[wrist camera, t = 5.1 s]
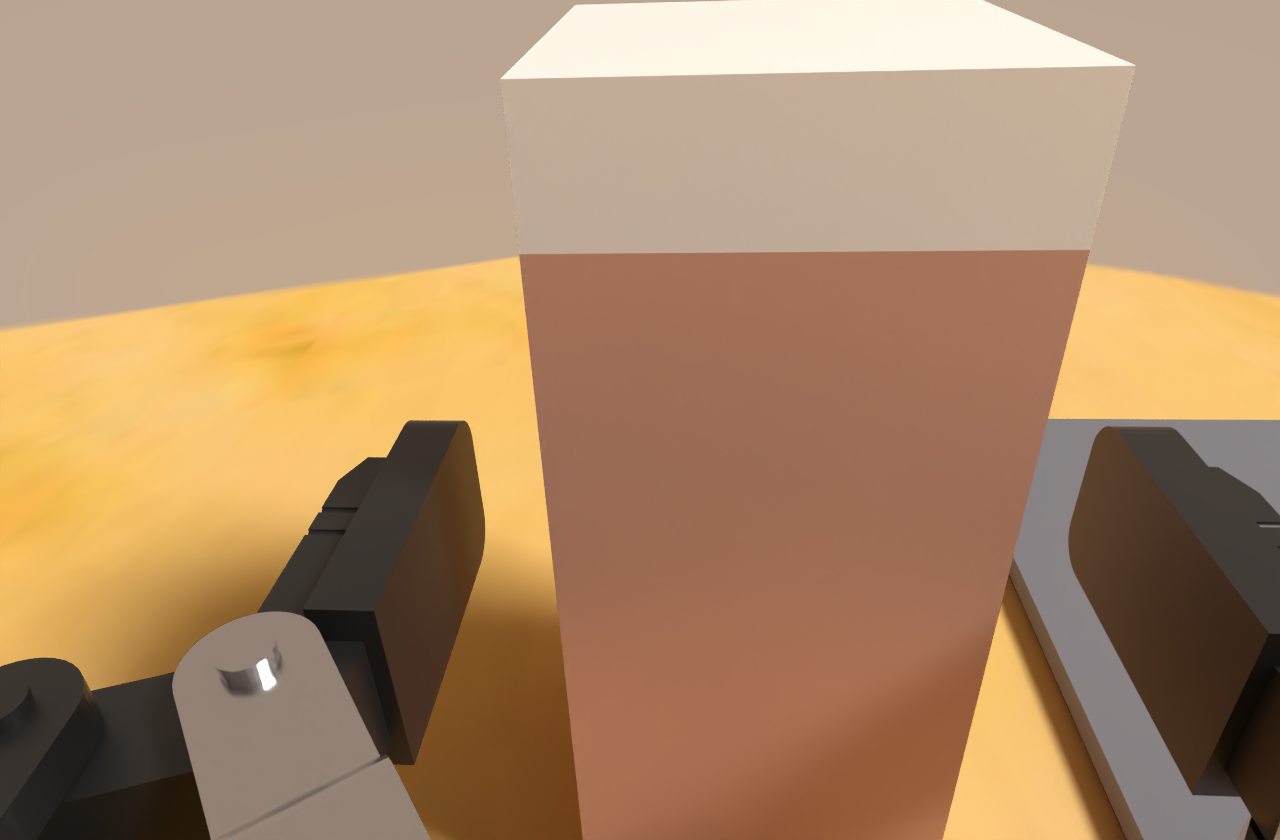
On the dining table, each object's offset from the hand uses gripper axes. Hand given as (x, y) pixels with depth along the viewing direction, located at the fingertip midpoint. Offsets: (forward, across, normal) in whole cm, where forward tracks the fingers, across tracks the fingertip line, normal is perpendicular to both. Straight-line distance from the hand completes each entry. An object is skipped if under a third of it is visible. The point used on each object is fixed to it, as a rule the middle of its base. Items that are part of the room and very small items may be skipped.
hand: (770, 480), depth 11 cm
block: (0, 0, +7) cm, 7 cm away
